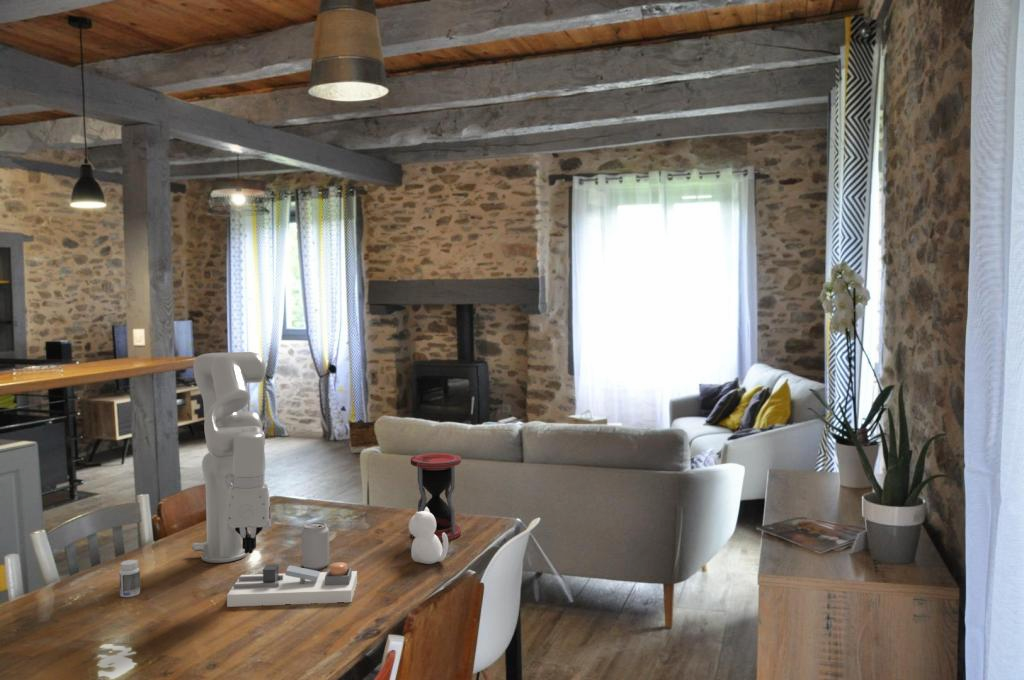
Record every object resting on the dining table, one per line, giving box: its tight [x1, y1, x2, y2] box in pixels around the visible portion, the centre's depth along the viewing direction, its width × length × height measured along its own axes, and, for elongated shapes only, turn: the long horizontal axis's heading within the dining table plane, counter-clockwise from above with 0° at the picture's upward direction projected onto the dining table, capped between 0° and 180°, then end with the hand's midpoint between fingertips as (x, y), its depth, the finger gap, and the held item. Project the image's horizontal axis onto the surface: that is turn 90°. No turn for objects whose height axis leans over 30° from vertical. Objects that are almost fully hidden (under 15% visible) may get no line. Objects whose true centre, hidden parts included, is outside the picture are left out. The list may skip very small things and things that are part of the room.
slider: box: [262, 563, 280, 583], centre depth 196 cm, size 3×4×4 cm
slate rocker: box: [284, 565, 321, 581], centre depth 197 cm, size 8×4×1 cm, turn 96°
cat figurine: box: [408, 507, 449, 565], centre depth 222 cm, size 9×12×15 cm
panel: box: [226, 567, 358, 608], centre depth 197 cm, size 30×14×5 cm, turn 96°
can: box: [301, 521, 330, 571], centre depth 218 cm, size 8×8×12 cm
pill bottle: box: [118, 559, 141, 598], centre depth 197 cm, size 5×5×8 cm
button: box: [329, 561, 348, 576], centre depth 198 cm, size 4×4×2 cm
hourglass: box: [410, 452, 462, 542], centre depth 248 cm, size 16×16×25 cm
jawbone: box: [329, 530, 339, 543], centre depth 243 cm, size 9×20×2 cm, turn 18°
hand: (249, 551), depth 196 cm, fingers closed
